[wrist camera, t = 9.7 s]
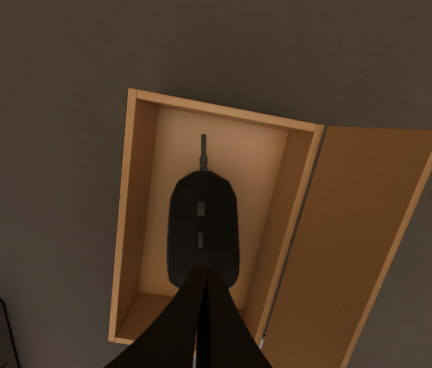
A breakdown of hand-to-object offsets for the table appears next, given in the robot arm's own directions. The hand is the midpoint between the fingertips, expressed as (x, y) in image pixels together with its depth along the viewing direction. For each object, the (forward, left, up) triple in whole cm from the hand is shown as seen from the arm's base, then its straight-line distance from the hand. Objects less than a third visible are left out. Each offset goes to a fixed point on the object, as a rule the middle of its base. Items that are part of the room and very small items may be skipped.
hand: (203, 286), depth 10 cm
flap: (-1, -6, -2) cm, 6 cm away
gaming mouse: (-1, 0, -10) cm, 10 cm away
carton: (-1, 0, -11) cm, 11 cm away
